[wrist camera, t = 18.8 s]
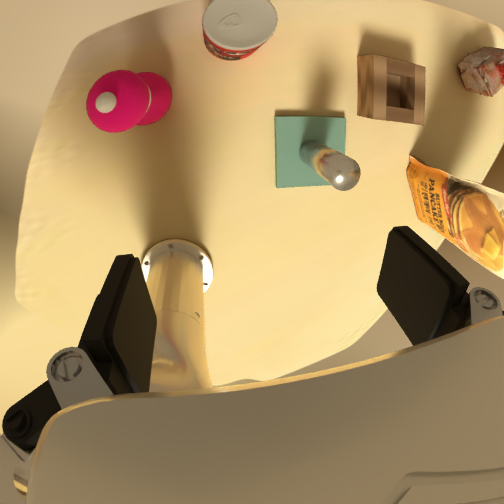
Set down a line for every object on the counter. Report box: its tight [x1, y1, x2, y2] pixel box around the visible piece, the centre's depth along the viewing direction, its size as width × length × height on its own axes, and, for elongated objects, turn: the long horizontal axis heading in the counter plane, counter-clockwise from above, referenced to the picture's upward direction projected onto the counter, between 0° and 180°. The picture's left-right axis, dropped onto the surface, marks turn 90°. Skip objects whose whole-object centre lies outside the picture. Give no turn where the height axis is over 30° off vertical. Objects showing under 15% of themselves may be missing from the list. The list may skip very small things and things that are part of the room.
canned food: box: [202, 0, 277, 60], centre depth 27 cm, size 8×8×11 cm
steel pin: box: [299, 140, 360, 191], centre depth 36 cm, size 4×4×12 cm
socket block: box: [357, 54, 425, 126], centre depth 36 cm, size 10×10×5 cm
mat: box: [274, 116, 346, 188], centre depth 42 cm, size 11×11×1 cm
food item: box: [458, 47, 504, 97], centre depth 31 cm, size 14×8×10 cm, turn 131°
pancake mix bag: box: [407, 155, 504, 280], centre depth 36 cm, size 7×19×28 cm, turn 30°
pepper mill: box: [86, 70, 172, 133], centre depth 26 cm, size 7×7×20 cm
